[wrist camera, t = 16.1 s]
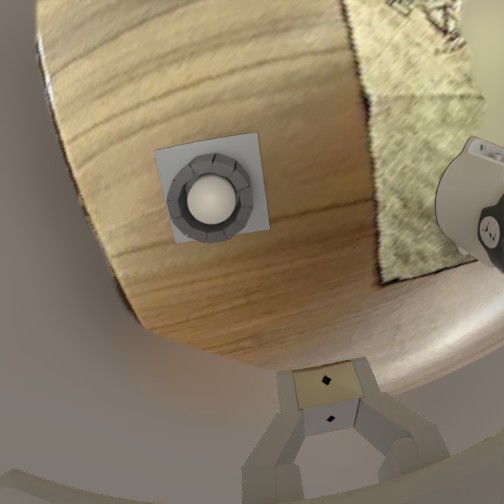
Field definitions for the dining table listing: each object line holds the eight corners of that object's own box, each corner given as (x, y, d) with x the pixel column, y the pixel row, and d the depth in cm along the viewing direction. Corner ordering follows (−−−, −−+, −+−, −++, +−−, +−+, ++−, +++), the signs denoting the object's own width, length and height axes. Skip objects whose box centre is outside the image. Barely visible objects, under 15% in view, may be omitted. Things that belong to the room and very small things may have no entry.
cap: (229, 165, 34) (228, 172, 30) (239, 205, 37) (240, 217, 33) (187, 176, 35) (181, 185, 31) (199, 214, 37) (195, 228, 33)
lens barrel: (256, 132, 33) (259, 136, 28) (269, 228, 39) (274, 247, 34) (154, 150, 34) (141, 158, 29) (176, 242, 39) (168, 262, 34)
